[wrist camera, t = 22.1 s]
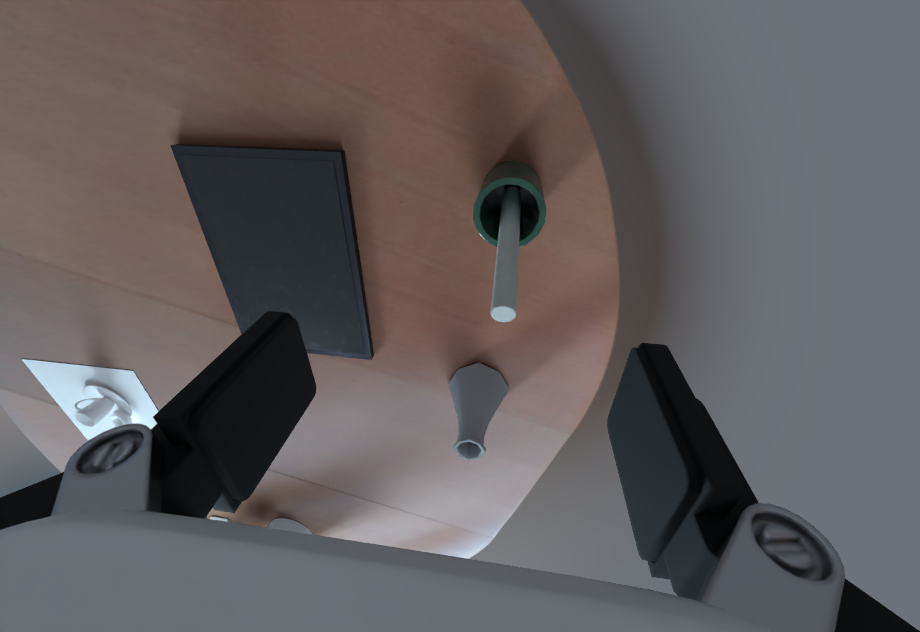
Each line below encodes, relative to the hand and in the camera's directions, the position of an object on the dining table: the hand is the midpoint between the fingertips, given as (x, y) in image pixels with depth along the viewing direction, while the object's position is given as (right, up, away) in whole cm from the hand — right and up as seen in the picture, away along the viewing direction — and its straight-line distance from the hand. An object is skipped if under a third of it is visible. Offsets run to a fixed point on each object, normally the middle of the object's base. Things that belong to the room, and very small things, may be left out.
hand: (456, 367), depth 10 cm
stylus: (+5, +13, +22) cm, 26 cm away
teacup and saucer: (-59, -14, +51) cm, 79 cm away
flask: (+3, -7, +36) cm, 37 cm away
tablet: (-19, +7, +30) cm, 37 cm away
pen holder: (+5, +13, +23) cm, 27 cm away
